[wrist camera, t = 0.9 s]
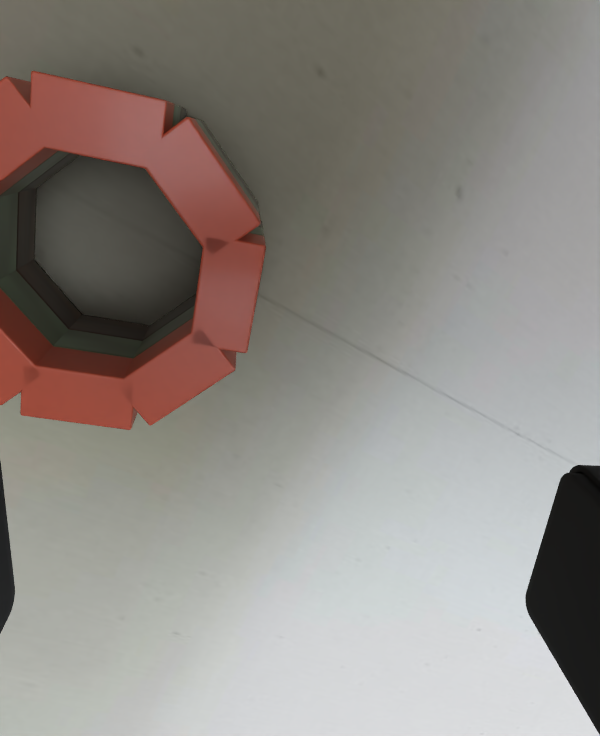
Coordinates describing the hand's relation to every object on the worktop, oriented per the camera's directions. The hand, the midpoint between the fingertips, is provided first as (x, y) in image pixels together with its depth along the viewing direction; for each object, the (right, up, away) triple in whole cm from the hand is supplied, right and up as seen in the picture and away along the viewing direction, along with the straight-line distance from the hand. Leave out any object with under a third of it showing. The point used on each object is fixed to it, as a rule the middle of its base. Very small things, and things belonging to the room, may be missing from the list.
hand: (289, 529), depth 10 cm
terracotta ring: (-7, +7, +11) cm, 14 cm away
